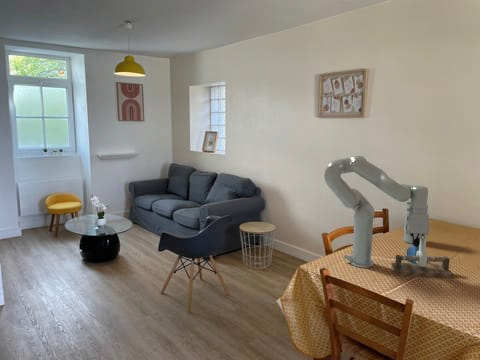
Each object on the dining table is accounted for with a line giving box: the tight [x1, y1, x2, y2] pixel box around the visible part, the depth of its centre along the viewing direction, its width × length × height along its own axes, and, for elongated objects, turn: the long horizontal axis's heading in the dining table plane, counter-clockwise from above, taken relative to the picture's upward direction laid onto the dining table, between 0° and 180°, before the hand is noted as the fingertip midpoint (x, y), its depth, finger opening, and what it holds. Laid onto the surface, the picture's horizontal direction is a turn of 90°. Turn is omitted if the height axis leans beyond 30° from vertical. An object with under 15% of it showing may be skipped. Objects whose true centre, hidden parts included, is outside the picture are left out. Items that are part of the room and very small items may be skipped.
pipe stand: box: [390, 254, 455, 279], centre depth 182 cm, size 26×12×8 cm, turn 84°
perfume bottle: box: [406, 244, 419, 264], centre depth 195 cm, size 6×6×12 cm
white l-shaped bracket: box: [416, 237, 428, 267], centre depth 181 cm, size 3×6×14 cm, turn 174°
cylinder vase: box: [403, 201, 429, 245], centre depth 227 cm, size 12×12×25 cm
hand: (415, 245), depth 181 cm, fingers closed
